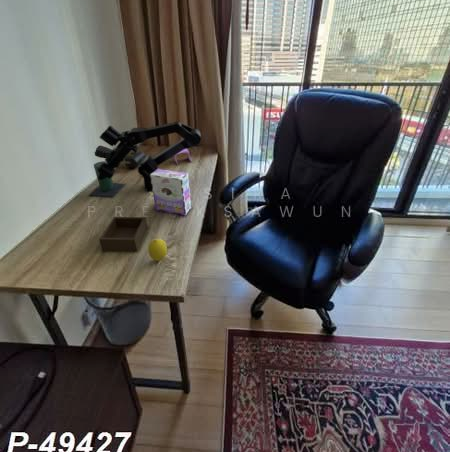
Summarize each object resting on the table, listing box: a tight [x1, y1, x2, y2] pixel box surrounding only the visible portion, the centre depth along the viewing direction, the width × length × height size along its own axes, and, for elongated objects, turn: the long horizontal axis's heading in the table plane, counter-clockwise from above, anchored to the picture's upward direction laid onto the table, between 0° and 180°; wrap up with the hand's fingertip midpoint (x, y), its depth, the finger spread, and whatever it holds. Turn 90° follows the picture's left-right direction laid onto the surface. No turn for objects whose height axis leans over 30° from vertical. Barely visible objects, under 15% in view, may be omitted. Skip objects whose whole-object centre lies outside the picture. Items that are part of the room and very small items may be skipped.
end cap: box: [124, 150, 147, 170], centre depth 138 cm, size 10×7×7 cm
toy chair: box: [173, 148, 193, 165], centre depth 140 cm, size 8×9×15 cm
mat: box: [89, 182, 125, 198], centre depth 116 cm, size 11×11×1 cm
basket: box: [98, 216, 149, 252], centre depth 86 cm, size 12×12×5 cm
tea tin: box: [93, 160, 114, 191], centre depth 113 cm, size 6×6×12 cm
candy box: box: [150, 168, 192, 216], centre depth 99 cm, size 14×6×16 cm, turn 71°
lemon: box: [147, 238, 168, 262], centre depth 77 cm, size 6×6×8 cm
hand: (101, 176), depth 113 cm, fingers closed on tea tin, 6 cm apart
